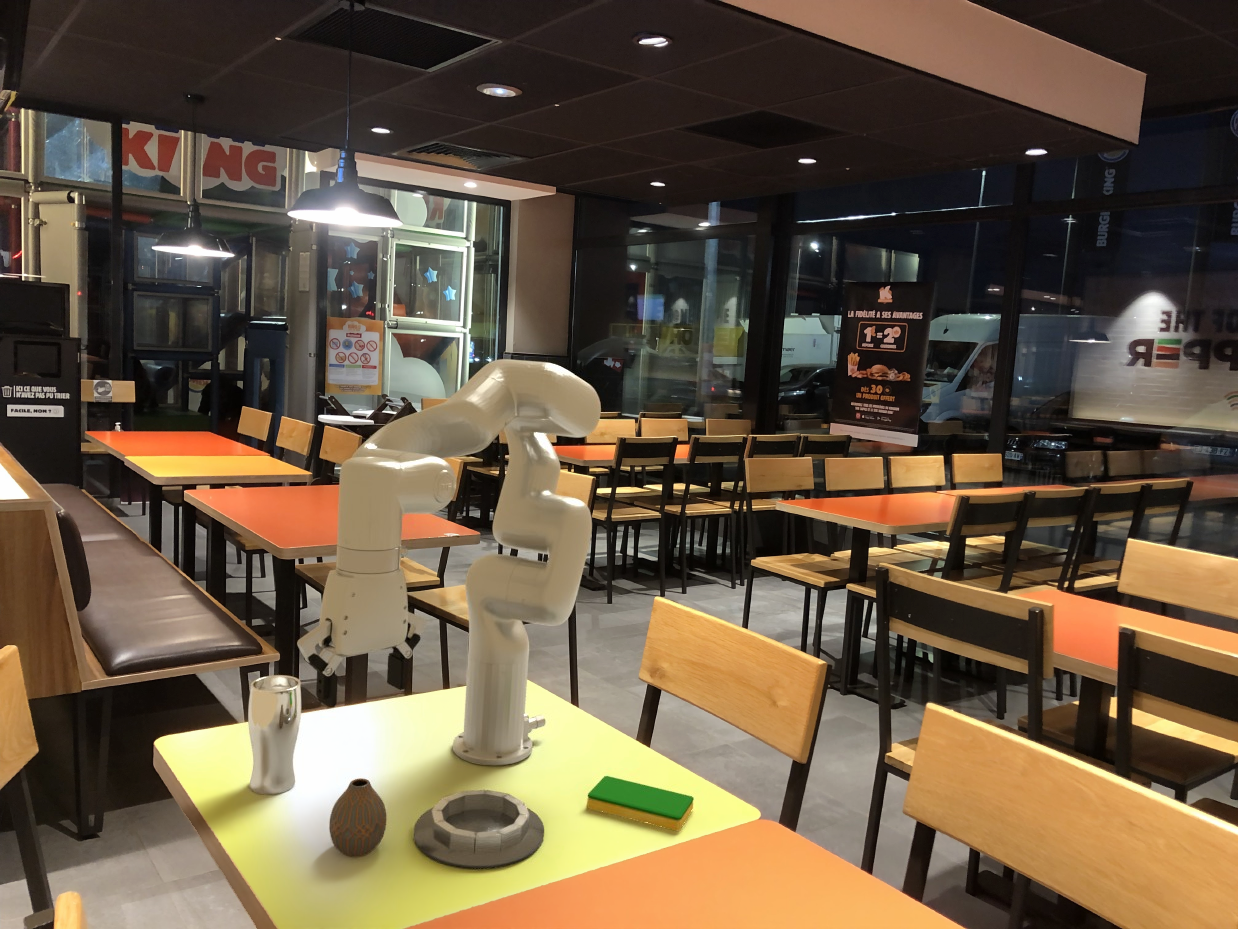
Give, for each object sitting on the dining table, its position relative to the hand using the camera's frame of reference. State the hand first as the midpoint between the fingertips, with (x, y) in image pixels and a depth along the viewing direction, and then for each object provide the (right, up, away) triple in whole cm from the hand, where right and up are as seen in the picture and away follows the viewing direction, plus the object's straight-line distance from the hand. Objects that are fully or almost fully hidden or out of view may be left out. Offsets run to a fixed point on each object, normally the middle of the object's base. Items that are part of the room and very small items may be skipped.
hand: (362, 695), depth 114 cm
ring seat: (+13, -20, +8) cm, 26 cm away
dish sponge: (+35, -21, +18) cm, 45 cm away
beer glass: (-18, -17, +17) cm, 30 cm away
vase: (-1, -20, +2) cm, 20 cm away
